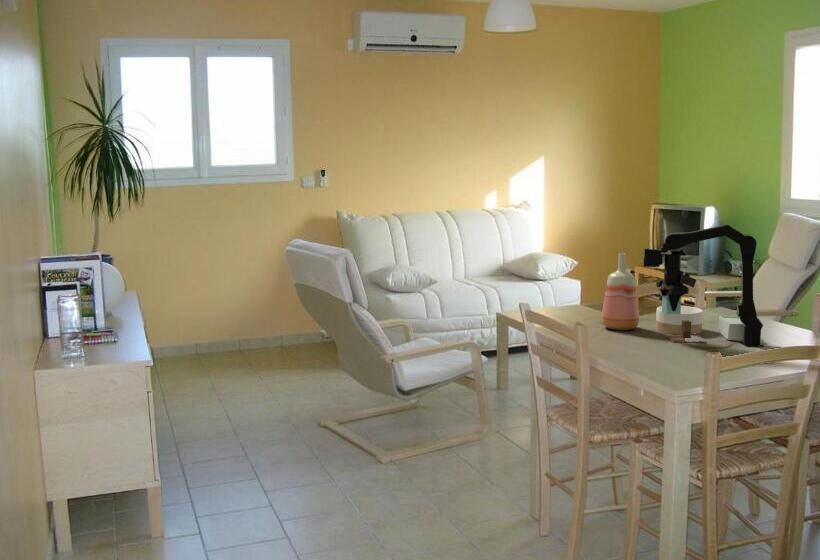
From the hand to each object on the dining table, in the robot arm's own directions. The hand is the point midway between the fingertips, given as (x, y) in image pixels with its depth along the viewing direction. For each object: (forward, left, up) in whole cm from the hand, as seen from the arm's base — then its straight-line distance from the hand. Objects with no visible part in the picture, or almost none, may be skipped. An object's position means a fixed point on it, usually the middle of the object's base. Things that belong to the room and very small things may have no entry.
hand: (671, 309), depth 325 cm
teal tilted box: (0, 0, -1) cm, 1 cm away
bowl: (+18, -9, -12) cm, 23 cm away
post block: (+1, -6, -12) cm, 13 cm away
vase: (+22, +13, -12) cm, 28 cm away
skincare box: (+13, -27, -9) cm, 31 cm away
